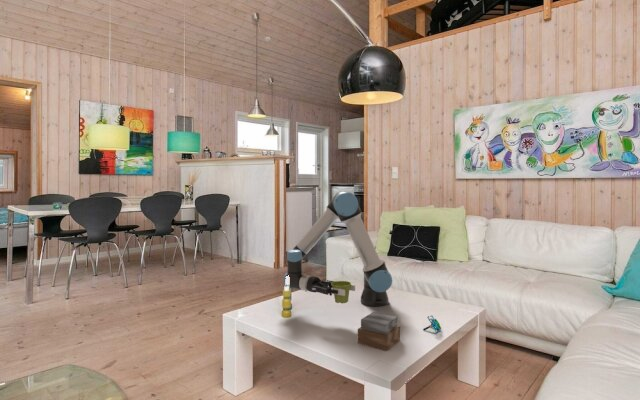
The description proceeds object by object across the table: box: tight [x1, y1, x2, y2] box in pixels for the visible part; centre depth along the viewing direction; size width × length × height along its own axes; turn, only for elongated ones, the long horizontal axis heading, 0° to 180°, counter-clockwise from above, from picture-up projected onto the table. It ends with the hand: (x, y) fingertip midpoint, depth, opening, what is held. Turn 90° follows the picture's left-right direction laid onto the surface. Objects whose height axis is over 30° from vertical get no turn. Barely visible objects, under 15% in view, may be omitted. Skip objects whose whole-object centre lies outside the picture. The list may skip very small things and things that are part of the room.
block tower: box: [357, 311, 401, 352], centre depth 165 cm, size 13×13×10 cm
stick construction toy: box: [422, 314, 442, 334], centre depth 178 cm, size 12×7×8 cm
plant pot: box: [331, 280, 352, 304], centre depth 186 cm, size 9×9×9 cm
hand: (349, 290), depth 183 cm, fingers closed on plant pot, 8 cm apart
